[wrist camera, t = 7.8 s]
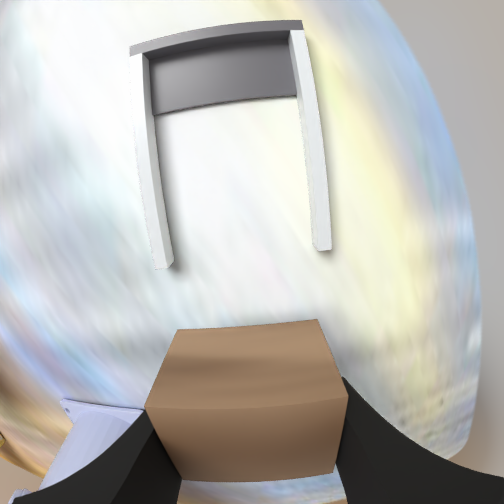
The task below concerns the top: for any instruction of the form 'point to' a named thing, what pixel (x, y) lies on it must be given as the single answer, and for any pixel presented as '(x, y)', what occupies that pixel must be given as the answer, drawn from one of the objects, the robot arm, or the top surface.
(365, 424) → the robot arm
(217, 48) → the channel
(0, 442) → the candy box
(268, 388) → the walnut block
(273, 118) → the top surface
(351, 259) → the top surface
